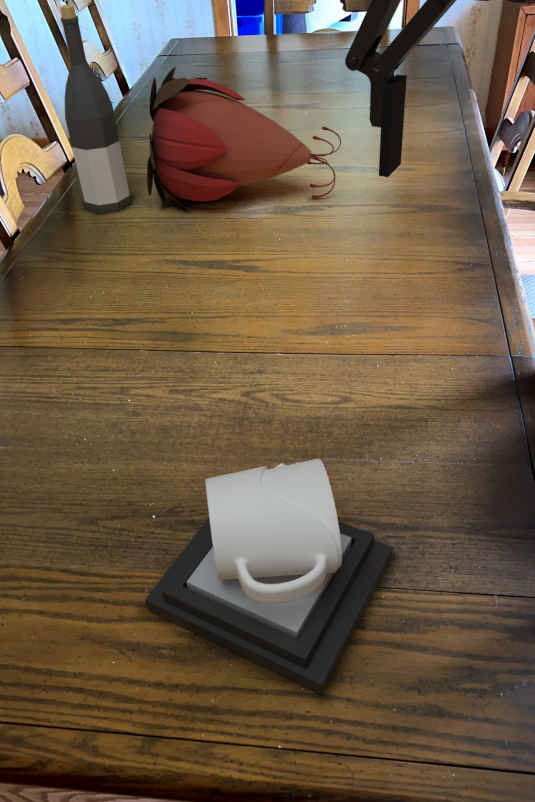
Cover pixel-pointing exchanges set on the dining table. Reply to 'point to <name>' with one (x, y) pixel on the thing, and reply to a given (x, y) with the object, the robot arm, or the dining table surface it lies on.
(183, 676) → the dining table surface
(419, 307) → the dining table surface
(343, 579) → the black stepped plinth
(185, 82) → the decorative flower
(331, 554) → the mug
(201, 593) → the grey tile on plinth
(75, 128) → the wine bottle
